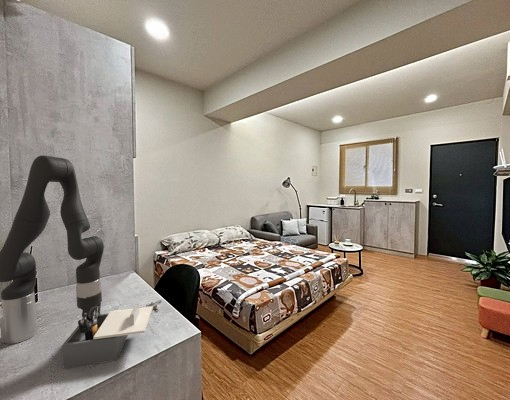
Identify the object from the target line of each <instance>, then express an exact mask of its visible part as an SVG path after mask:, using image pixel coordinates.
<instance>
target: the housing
mask: <svg viewBox="0 0 510 400" xmlns="http://www.w3.org/2000/svg"><path fill="white" fill-rule="evenodd" d="M109 313H110V312H109ZM109 313H107V312H106V313H100V318H99V319H98V323H97V330H99V328H100V327H101V325H102V323H103V322H104V320H105V319H106V317H107V316H108V314H109ZM128 336H129V335H123V336H116V337H108V338H101V339H94V340H86V341H85V333H81V331H80V328H79V325H78V324H77V326H76V328H75V329H74V330H73V331H72V332H71V334H70V335H69V336H68V337H67V339H66V340H65V341H64V342H63V343H62V345H61V353H62V368H63V369H70V368H77V367H84V366H89V365H95V364H101V363H107V362H114V361H118V358H119V357H120V354H121V352H122V350H123V347H124V345H125V343H126V341H127V339H128Z"/></svg>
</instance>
